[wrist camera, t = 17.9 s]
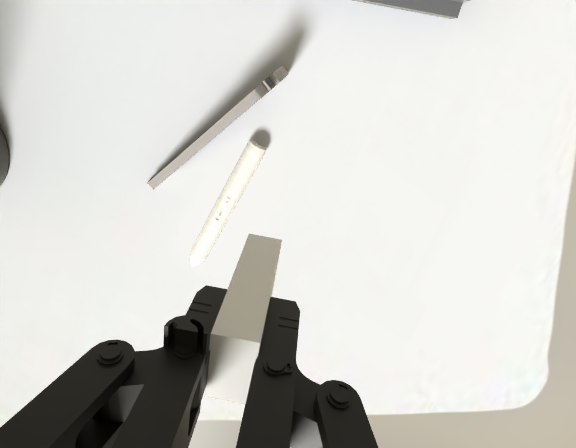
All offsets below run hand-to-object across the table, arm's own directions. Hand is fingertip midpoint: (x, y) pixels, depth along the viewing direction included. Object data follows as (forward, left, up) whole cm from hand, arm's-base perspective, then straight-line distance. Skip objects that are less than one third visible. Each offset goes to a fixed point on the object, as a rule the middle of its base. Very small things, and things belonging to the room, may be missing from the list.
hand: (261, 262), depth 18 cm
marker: (-7, -10, -27) cm, 30 cm away
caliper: (-9, -2, -27) cm, 28 cm away
